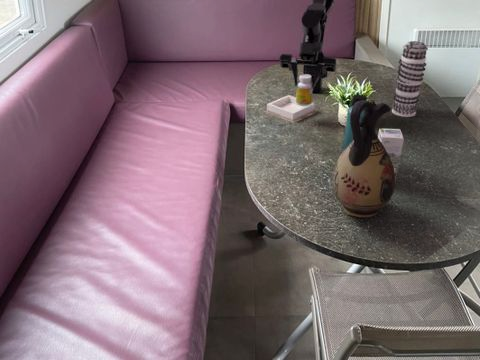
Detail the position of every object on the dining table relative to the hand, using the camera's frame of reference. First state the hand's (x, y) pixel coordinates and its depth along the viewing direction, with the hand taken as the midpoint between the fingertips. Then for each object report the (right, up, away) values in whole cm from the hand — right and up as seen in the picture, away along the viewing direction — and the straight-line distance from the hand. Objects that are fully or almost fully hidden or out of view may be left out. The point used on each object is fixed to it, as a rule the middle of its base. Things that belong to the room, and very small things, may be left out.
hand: (304, 86), depth 168 cm
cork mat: (-3, -7, +15) cm, 16 cm away
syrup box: (+19, -31, -24) cm, 44 cm away
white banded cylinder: (+38, -7, +15) cm, 41 cm away
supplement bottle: (0, -5, +5) cm, 7 cm away
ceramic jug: (+9, -39, -37) cm, 54 cm away
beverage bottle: (+13, -25, -14) cm, 31 cm away
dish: (-3, -6, +14) cm, 16 cm away
